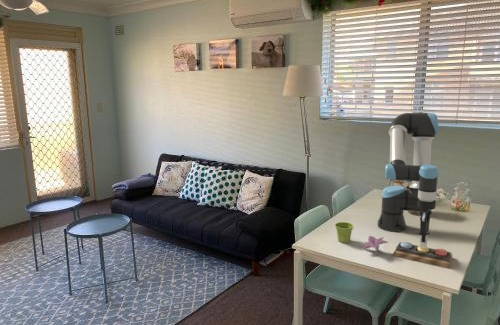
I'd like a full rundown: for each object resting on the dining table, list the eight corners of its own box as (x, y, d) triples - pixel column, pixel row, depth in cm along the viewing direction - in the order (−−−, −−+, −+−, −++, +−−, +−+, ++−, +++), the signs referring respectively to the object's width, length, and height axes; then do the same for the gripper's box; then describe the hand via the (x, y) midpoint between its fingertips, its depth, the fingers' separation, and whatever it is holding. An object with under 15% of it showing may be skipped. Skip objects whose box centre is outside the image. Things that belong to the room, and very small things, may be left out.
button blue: (399, 247, 178) (399, 244, 178) (401, 244, 182) (402, 241, 182) (410, 250, 175) (410, 247, 175) (412, 246, 179) (413, 243, 179)
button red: (433, 254, 170) (434, 251, 169) (435, 250, 174) (435, 247, 173) (446, 257, 167) (446, 254, 167) (447, 253, 171) (448, 250, 171)
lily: (391, 254, 181) (387, 234, 184) (387, 254, 171) (383, 233, 174) (366, 258, 186) (362, 238, 189) (361, 258, 176) (357, 237, 179)
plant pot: (342, 245, 189) (343, 229, 187) (330, 239, 197) (331, 224, 196) (356, 242, 193) (357, 226, 192) (344, 236, 202) (344, 220, 200)
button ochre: (416, 251, 174) (416, 248, 174) (418, 248, 178) (418, 245, 178) (427, 254, 171) (428, 251, 171) (429, 250, 175) (430, 247, 175)
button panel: (393, 255, 177) (393, 249, 176) (399, 246, 186) (399, 240, 186) (448, 268, 164) (449, 260, 163) (452, 257, 173) (452, 250, 173)
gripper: (433, 204, 162) (429, 254, 167) (438, 196, 173) (434, 244, 177) (415, 201, 166) (411, 251, 171) (420, 194, 177) (417, 241, 181)
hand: (423, 247), depth 174 cm, fingers closed
